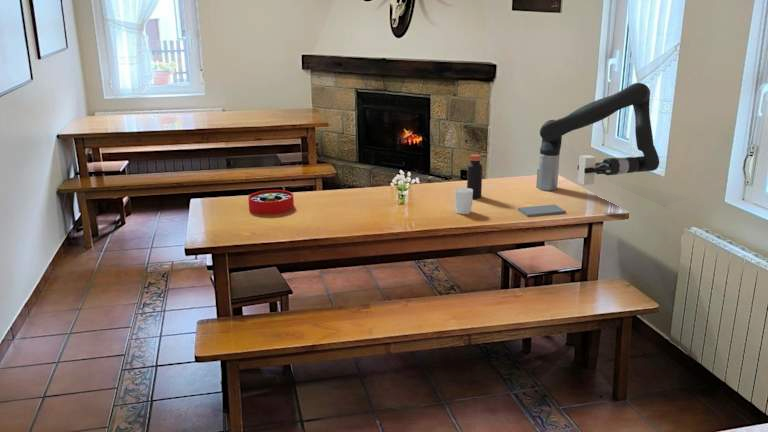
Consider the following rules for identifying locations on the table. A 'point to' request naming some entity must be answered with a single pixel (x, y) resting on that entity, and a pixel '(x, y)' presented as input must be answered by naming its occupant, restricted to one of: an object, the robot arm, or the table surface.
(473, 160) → the bottle
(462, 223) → the table surface
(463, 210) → the white cup
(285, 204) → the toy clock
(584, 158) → the block
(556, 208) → the mat
